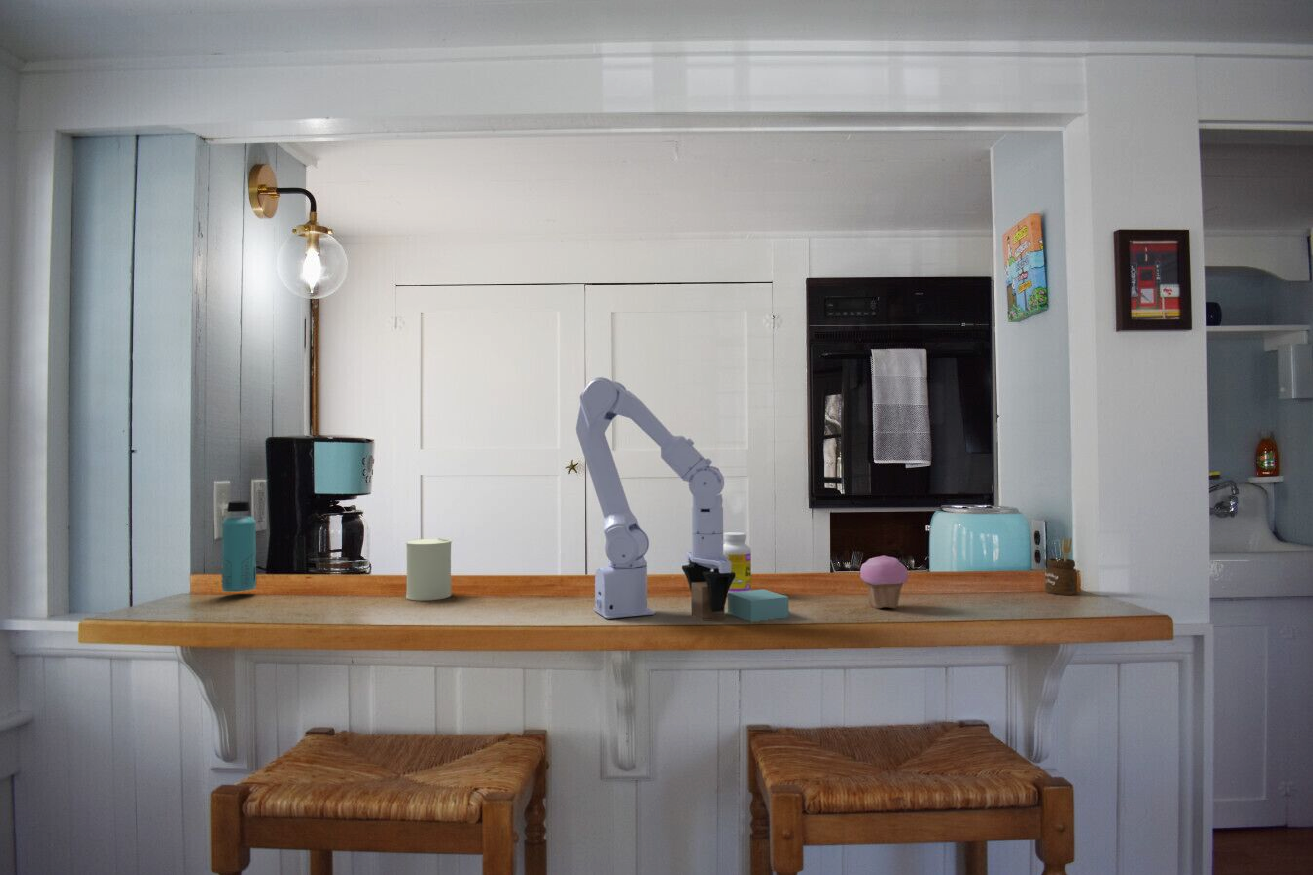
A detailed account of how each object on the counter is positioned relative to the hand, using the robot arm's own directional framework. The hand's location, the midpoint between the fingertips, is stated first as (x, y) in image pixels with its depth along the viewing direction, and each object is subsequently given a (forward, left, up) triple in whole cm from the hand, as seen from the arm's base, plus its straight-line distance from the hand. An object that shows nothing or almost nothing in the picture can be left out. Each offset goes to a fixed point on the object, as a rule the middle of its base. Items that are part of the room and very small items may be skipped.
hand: (708, 606), depth 134 cm
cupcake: (+34, -6, -2) cm, 35 cm away
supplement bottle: (+14, +17, -2) cm, 22 cm away
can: (-46, +40, -2) cm, 60 cm away
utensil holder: (+78, -9, -2) cm, 79 cm away
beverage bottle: (-83, +56, -2) cm, 100 cm away
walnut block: (0, 0, -2) cm, 2 cm away
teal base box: (+9, -2, -2) cm, 9 cm away
